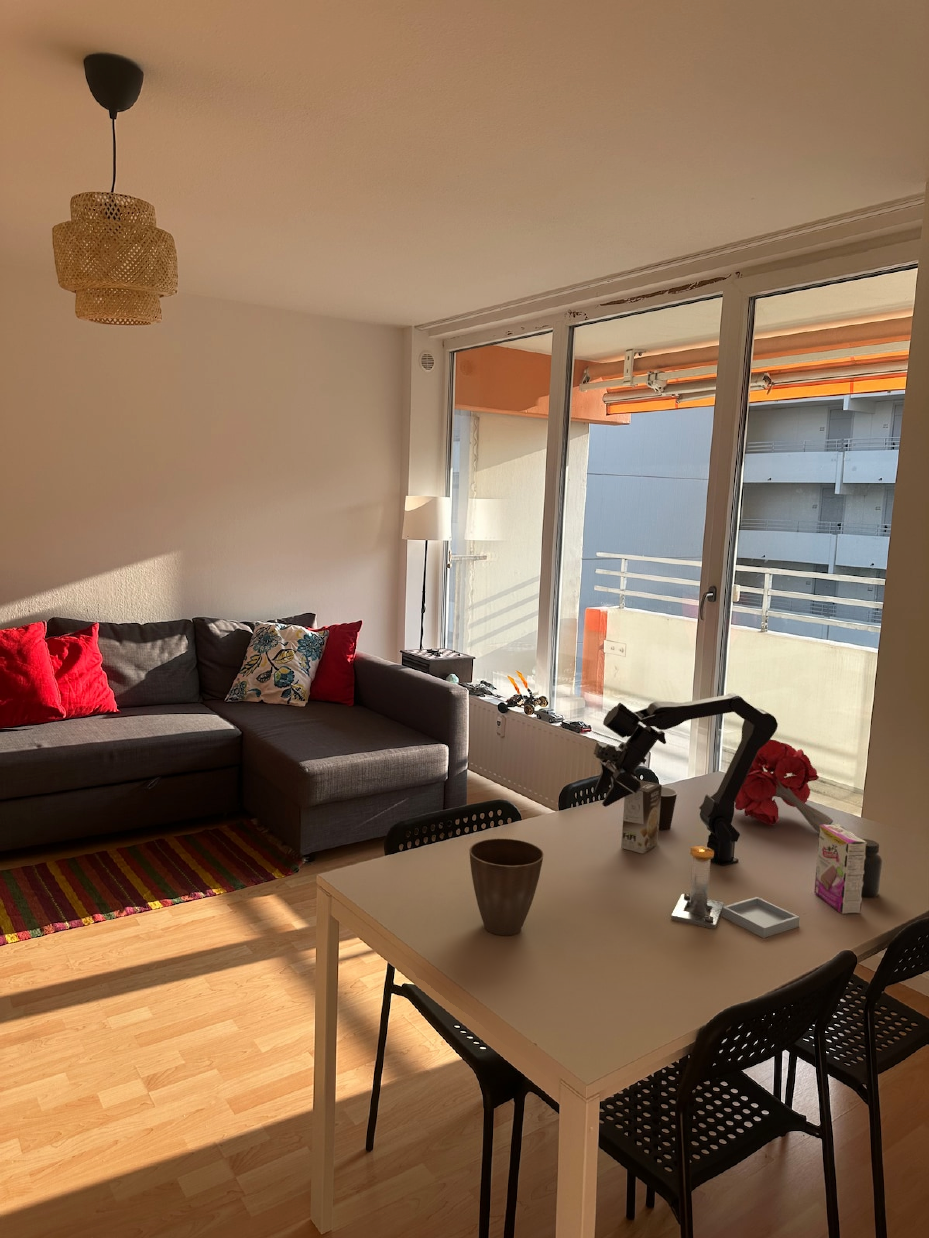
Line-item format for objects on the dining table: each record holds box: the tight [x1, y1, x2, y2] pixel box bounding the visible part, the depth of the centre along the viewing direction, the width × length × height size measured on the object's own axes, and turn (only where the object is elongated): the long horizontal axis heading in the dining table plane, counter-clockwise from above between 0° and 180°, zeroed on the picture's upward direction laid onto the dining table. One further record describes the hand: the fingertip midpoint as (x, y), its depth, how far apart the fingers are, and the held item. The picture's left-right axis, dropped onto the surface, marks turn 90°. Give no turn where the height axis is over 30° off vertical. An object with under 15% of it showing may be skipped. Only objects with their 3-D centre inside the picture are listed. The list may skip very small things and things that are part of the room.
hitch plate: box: [670, 893, 725, 930], centre depth 190 cm, size 12×9×2 cm
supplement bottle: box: [861, 838, 883, 899], centre depth 204 cm, size 7×7×12 cm
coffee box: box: [620, 779, 663, 854], centre depth 227 cm, size 9×6×16 cm
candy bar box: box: [813, 823, 867, 915], centre depth 197 cm, size 11×5×16 cm, turn 9°
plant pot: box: [468, 838, 545, 936], centre depth 179 cm, size 15×15×16 cm
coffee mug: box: [659, 786, 678, 832], centre depth 244 cm, size 12×9×10 cm
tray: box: [721, 896, 801, 939], centre depth 187 cm, size 11×11×2 cm
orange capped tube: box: [688, 845, 714, 916], centre depth 189 cm, size 5×5×14 cm
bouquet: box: [734, 738, 834, 833], centre depth 249 cm, size 22×24×30 cm
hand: (599, 799), depth 217 cm, fingers open, 9 cm apart
